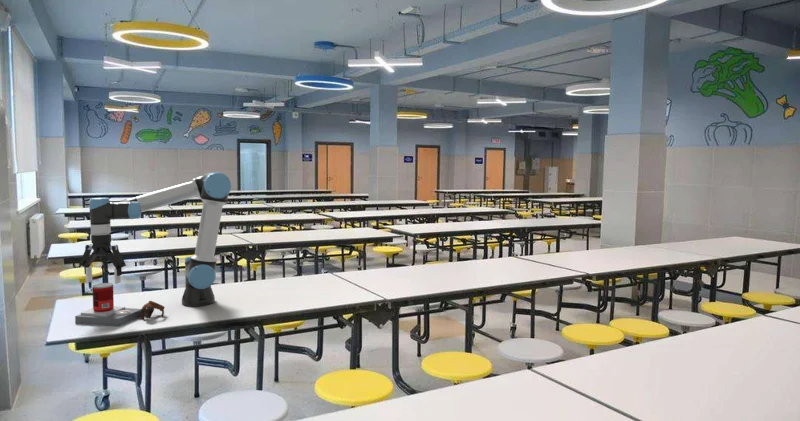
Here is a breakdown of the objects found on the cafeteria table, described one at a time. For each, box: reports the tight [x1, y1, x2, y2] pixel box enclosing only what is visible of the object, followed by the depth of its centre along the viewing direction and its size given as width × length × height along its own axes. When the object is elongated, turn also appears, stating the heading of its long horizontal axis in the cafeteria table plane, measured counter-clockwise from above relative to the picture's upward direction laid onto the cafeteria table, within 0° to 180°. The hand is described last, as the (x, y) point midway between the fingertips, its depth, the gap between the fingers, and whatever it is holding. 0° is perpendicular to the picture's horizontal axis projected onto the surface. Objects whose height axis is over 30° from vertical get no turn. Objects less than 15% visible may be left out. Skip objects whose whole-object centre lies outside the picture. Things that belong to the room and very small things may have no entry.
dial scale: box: [74, 306, 142, 327], centre depth 232 cm, size 20×16×4 cm
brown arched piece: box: [138, 300, 165, 321], centre depth 235 cm, size 12×10×8 cm
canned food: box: [92, 282, 115, 312], centre depth 232 cm, size 8×8×11 cm
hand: (103, 282), depth 231 cm, fingers open, 13 cm apart
